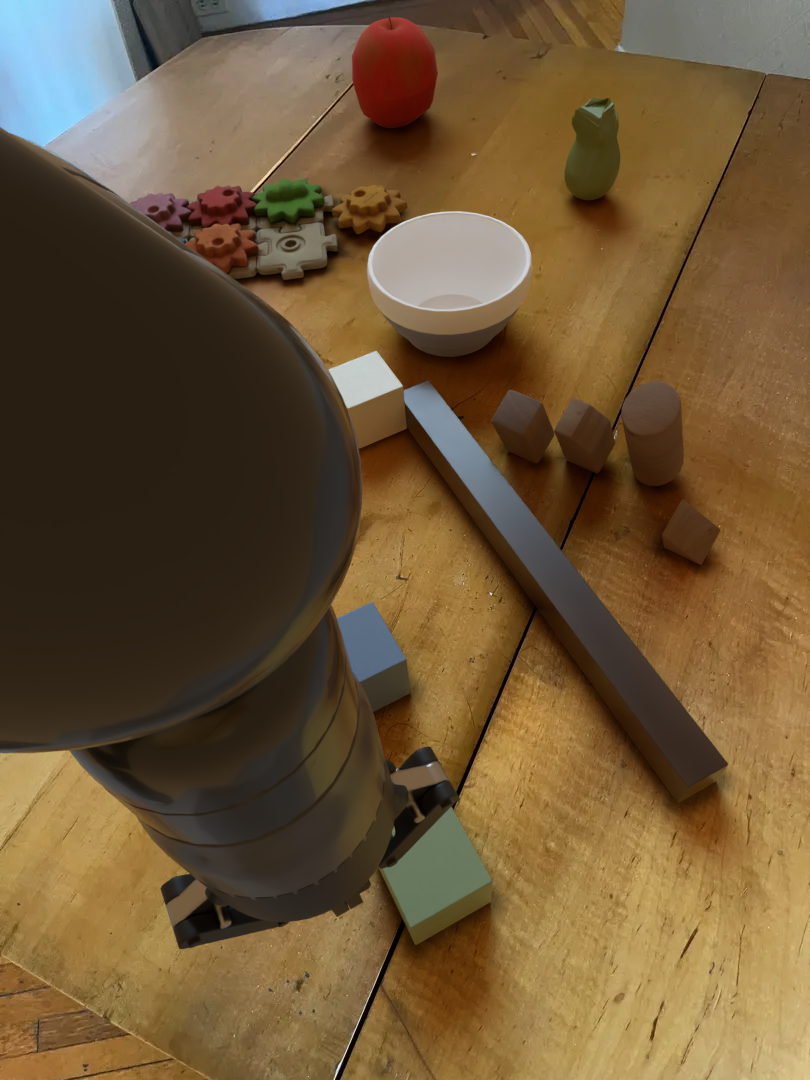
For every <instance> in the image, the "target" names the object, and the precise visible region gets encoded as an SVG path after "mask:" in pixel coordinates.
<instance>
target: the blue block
mask: <svg viewBox="0 0 810 1080" xmlns="http://www.w3.org/2000/svg"><path fill="white" fill-rule="evenodd" d="M337 620H338V624H339V627H340V630H341V633H342V636H343V640H344V643H345V646H346V650H347V653H348V657H349V660H350V664H351V667H352V670H353V673H354V674H355V676H356V677H357V679H358V680H359V682H360V684H361V685H362V687H363V689H364V691H365V693H366V695H367V697H368V700H369V702H370V705H371V708H372V711H373V713H374V712H376V711H379V710H380V709H382V708H384V707H387V706H388V705H390V704H392V703H394V702H396V701H398V700H400V699H401V698H404V697H406V696H408V695H410V694H411V693H412V691H411V684H410V682H411V681H410V676H409V670H408V669H409V668H408V662H407V658H406V656H405V654H404V653H403V651H402V649H401V648H400V646H399V644H398V642H397V641H396V639H395V637H394V635H393V633H392V632H391V630H390V628H389V627H388V625H387V623H386V622H385V619H384V618H383V617H382V614H381V613H380V611H379V609H378V608H377V606H376V604H375V602H374V601H370V602H368V603H366V604H364V605H362V606H359V607H358V608H355V609H353V610H351V611H348V612H347V613H345V614H342V615H341V616H338V617H337Z"/></svg>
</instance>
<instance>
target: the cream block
mask: <svg viewBox="0 0 810 1080" xmlns="http://www.w3.org/2000/svg"><path fill="white" fill-rule="evenodd" d="M328 371H329V372H330V374H331V375H332V377H333V379H334V381H335V383H336V385H337V387H338V389H339V391H340V393H341V395H342V397H343V400H344V402H345V405H346V407H347V410H348V412H349V415H350V417H351V421H352V424H353V427H354V431H355V434H356V438H357V443H358V448H359V450H360V449H362V448H364V447H367V446H369V445H371V444H374V443H376V442H378V441H381V440H384V439H386V438H388V437H390V436H393V435H396V434H397V433H401V432H403V431H405V430H408V429H407V423H406V411H405V400H404V390H405V389H404V385H403V384H402V383H401V381H400V379H398V377H397V376H396V375H395V373H394V372H393V371H392V370H391V368H390V367H389V365H388V364H387V362H385V360H384V359H383V357H382V355H380V353H379V352H378V351H377V350H374V351H371V352H369V353H367V354H364V355H362V356H359V357H356V358H353V359H351V360H349V361H346V362H344V363H341V364H339V365H336V366H334V367H330V368H329V369H328Z"/></svg>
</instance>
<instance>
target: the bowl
mask: <svg viewBox="0 0 810 1080" xmlns="http://www.w3.org/2000/svg"><path fill="white" fill-rule="evenodd" d="M532 257H533V256H532V252H531V249H530V246H529V244H528V242H527V241H526V239H525V238H524V236H523V235H522V234H520V232H518V231H517V230H516V229H515V228H514V227H513V226H510V225H509V224H508V223H506V222H504V221H503V220H500V219H498V218H494V217H492V216H489V215H485V214H481V213H476V212H470V211H461V210H459V211H440V212H432V213H431V212H430V213H426V214H423V215H418V216H415V217H413V218H409V219H407V220H404V221H402V222H401V223H400V222H399V223H398V224H397V225H395V226H393V227H391V228H390V229H389V230H387V231H386V232H385V233H384V234H383V235H381V236H380V237H379V238H378V240H377V241H376V242H374V244H373V245H372V249H371V250H370V252H369V254H368V259H367V264H366V265H367V266H366V268H367V269H366V270H367V271H366V274H367V275H366V276H367V283H368V288H369V293H370V296H371V298H372V301H373V303H374V305H375V307H376V308H377V309H378V310H379V312H380V314H381V315H382V317H383V318H384V319H386V321H387V322H388V323H389V324H390V325H391V326H392V327H393V329H394V330H395V331H396V332H397V333H398V334H399V335H400V336H402V337H403V338H405V339H406V340H407V341H408V342H410V344H411V345H412V346H414V347H415V348H416V349H418V350H419V351H422V352H423V353H426V354H428V355H431V356H435V357H436V356H437V357H443V358H455V357H462V356H466V355H470V354H472V353H474V352H477V351H480V350H481V349H482V348H484V347H486V346H487V345H488V344H489V343H491V341H492V340H493V339H494V337H496V336H497V335H498V334H499V333H501V332H502V331H503V330H504V329H505V327H507V325H508V324H509V322H510V320H511V319H512V318H513V317H515V315H516V314H517V312H518V311H519V309H520V308H521V306H522V304H523V303H524V301H525V300H526V298H527V297H528V294H529V290H530V287H531V283H532V278H533V277H532V276H533V260H532V259H533V258H532Z"/></svg>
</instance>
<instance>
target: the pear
mask: <svg viewBox="0 0 810 1080" xmlns="http://www.w3.org/2000/svg"><path fill="white" fill-rule="evenodd" d="M571 126H572V129H573V131H574V133H575V135H576V136H575V140H574V141H573V144H572V145H571V147H570V150H569V152H568V156H567V158H566V161H565V167H564V174H563V176H564V183H565V185H566V188H567V190H568V191H569V192H570V193H571V194H572V195H573V196H574V197H575V198H577V199H580V200H581V201H582V200H583V201H594V200H598V199H601V198H602V197H604V196H605V195H607V194H608V193H609V192H610V191H611V189H612V188H613V187H614V184H615V182H616V181H617V178H618V174H619V172H620V171H619V170H620V165H621V149H620V144H619V141H618V134H619V126H620V125H619V115H618V113H617V110H615V102H613V101H611V98H610V97H607V98H604V99H603V98H600V97H594V96H593V97H592V98H590V99H589V100H588V101H587V102H586V103H584V104H583V105H582V106H580V107H578V108H577V109H575V111H574V114H573V116H572V118H571Z"/></svg>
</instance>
